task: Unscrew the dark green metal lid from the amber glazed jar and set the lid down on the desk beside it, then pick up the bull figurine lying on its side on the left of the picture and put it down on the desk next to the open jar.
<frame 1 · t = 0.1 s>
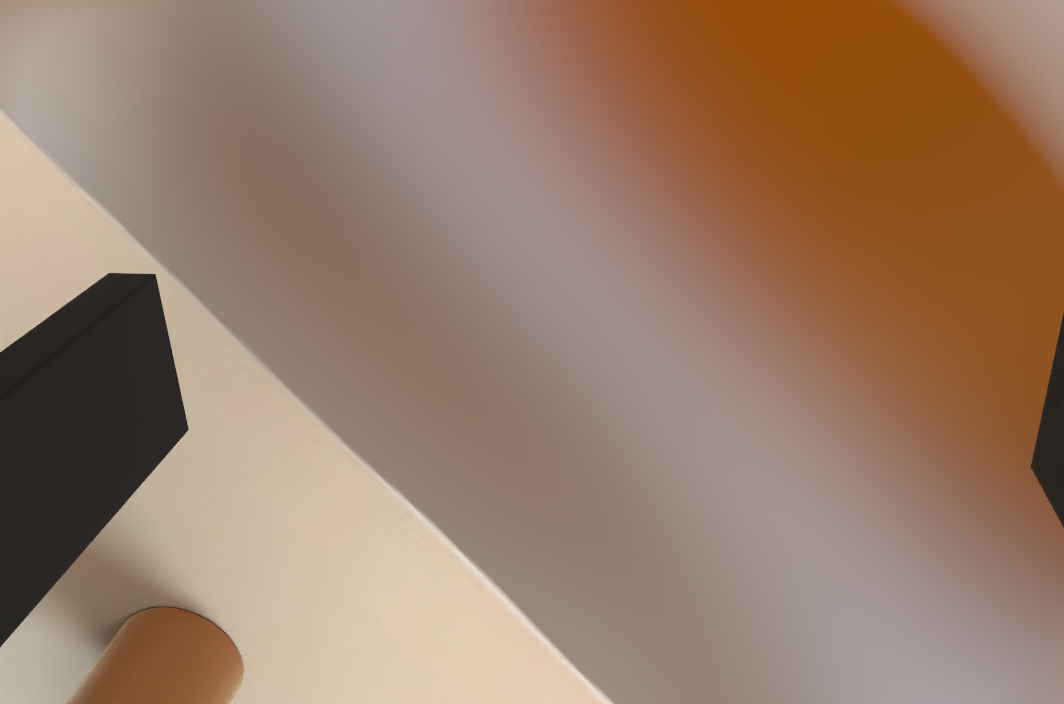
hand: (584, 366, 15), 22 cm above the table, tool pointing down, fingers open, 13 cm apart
jar: (180, 658, 50), on the table
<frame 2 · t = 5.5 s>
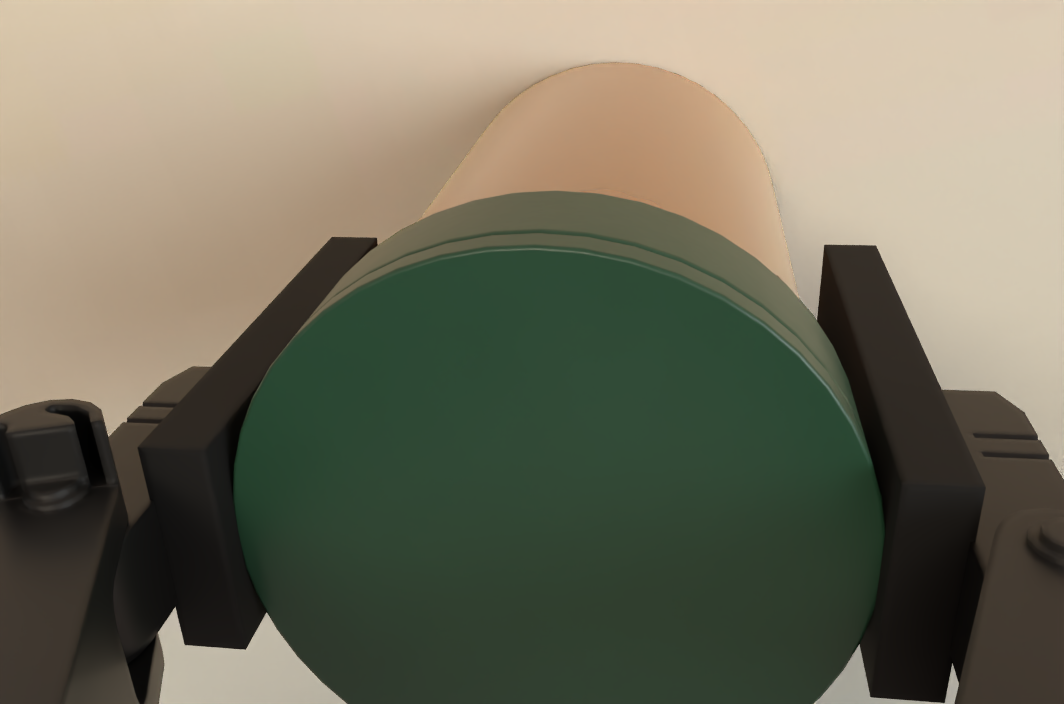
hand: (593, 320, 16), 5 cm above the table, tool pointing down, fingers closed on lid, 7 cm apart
jar: (614, 221, 21), on the table
lid: (549, 531, 11), point 11 cm above the table, screwed on, not yet turned, touching gripper
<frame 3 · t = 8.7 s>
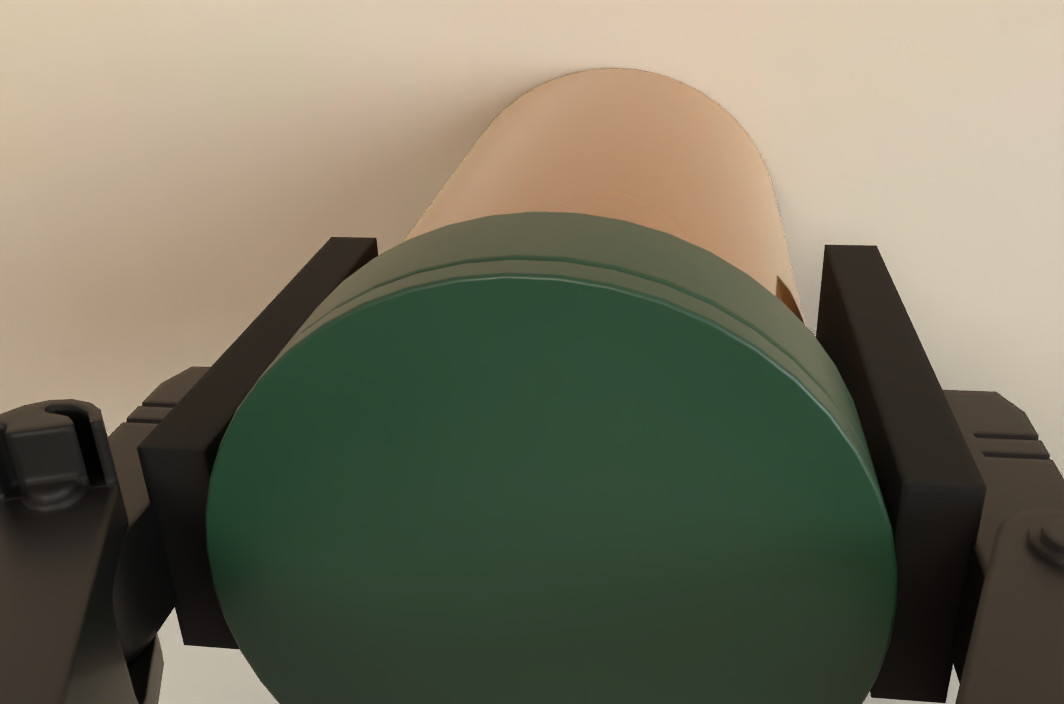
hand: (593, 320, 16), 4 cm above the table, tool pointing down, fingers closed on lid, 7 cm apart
jar: (612, 231, 20), on the table
lid: (541, 572, 11), point 11 cm above the table, turned 108° so far, risen 0.1 cm, still on its thread, touching gripper
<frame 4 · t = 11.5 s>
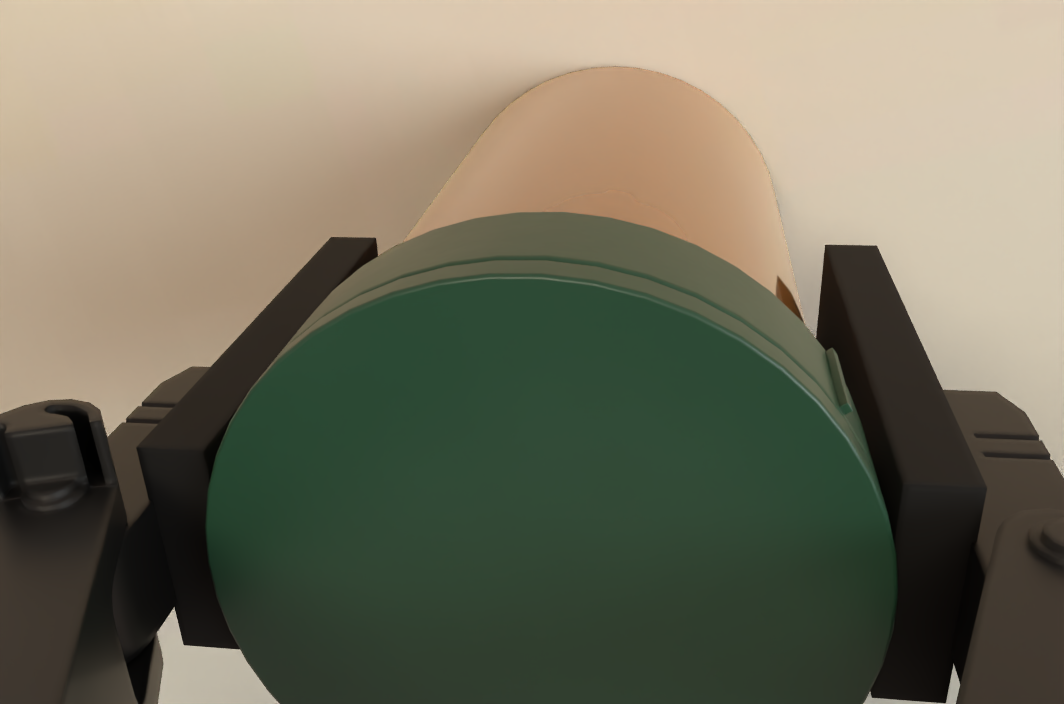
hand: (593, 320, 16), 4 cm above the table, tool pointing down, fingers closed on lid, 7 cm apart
jar: (613, 228, 20), on the table
lid: (541, 572, 11), point 11 cm above the table, turned 215° so far, risen 0.3 cm, still on its thread, touching gripper
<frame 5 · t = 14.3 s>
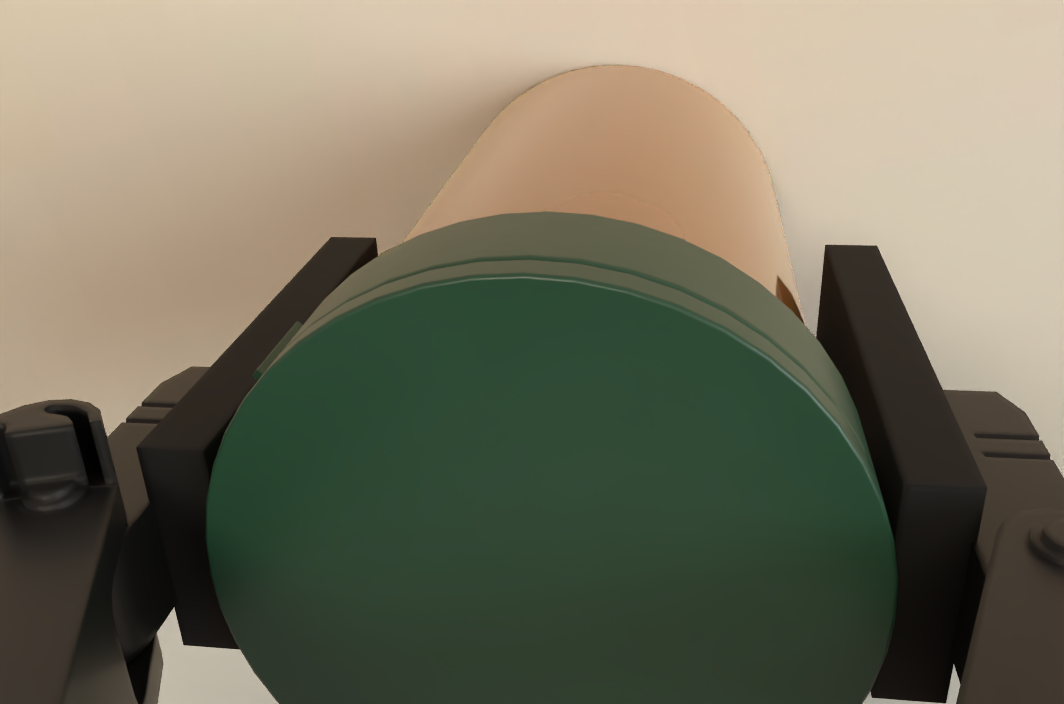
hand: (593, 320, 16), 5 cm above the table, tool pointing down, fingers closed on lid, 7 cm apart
jar: (614, 226, 21), on the table
lid: (541, 572, 11), point 11 cm above the table, turned 323° so far, risen 0.4 cm, still on its thread, touching gripper
when the fingers open (0 cm above the table, at t = 21.4 s): lid drops 5 cm, point 1 cm above the table.
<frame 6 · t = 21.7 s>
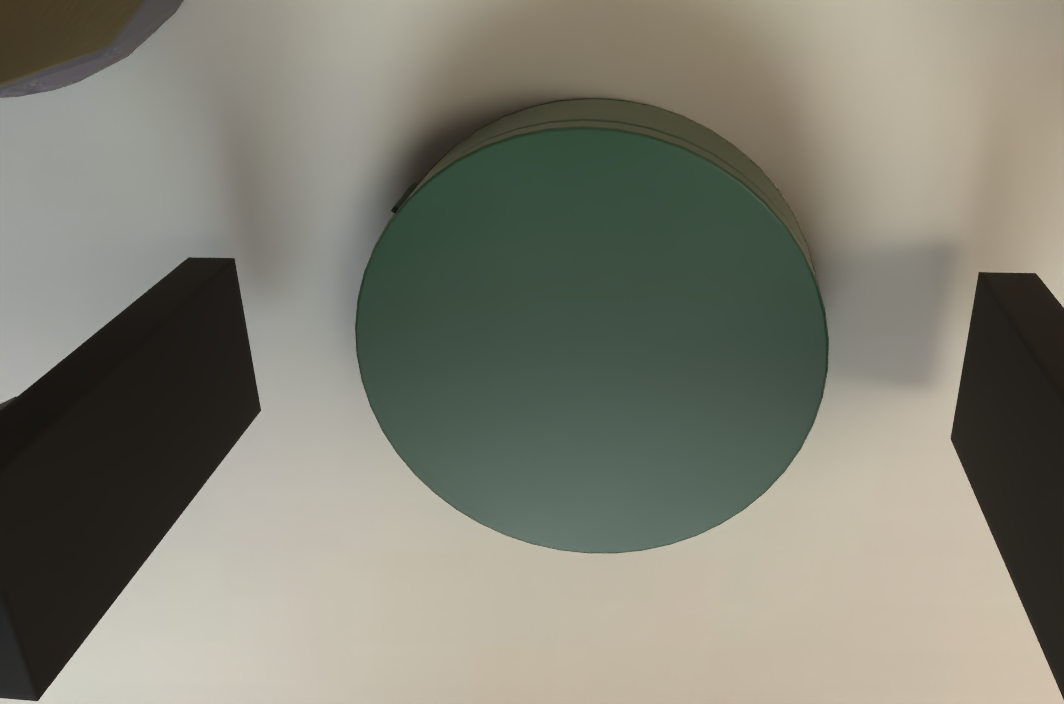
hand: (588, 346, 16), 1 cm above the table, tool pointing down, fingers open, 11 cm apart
lid: (586, 350, 16), point 1 cm above the table, off its thread
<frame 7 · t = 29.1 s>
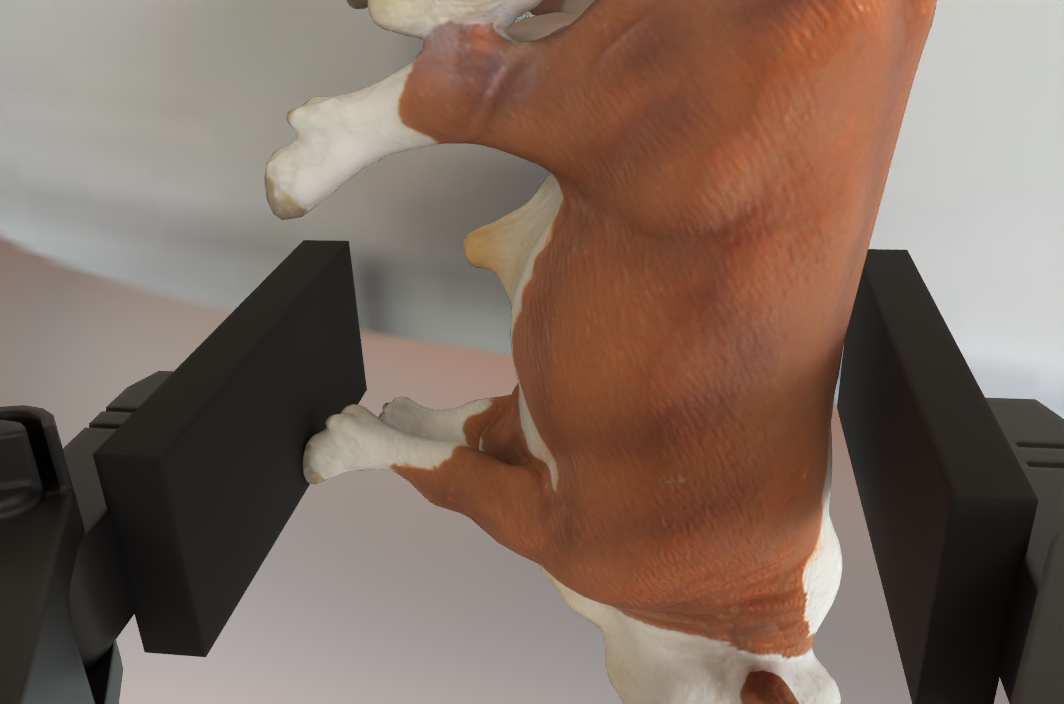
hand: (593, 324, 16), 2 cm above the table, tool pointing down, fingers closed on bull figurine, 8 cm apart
bull figurine: (321, 327, 15), point 4 cm above the table, touching gripper
when the fingers open (0 cm above the table, at t = 35.8 s): bull figurine stays where it is, point 2 cm above the table.
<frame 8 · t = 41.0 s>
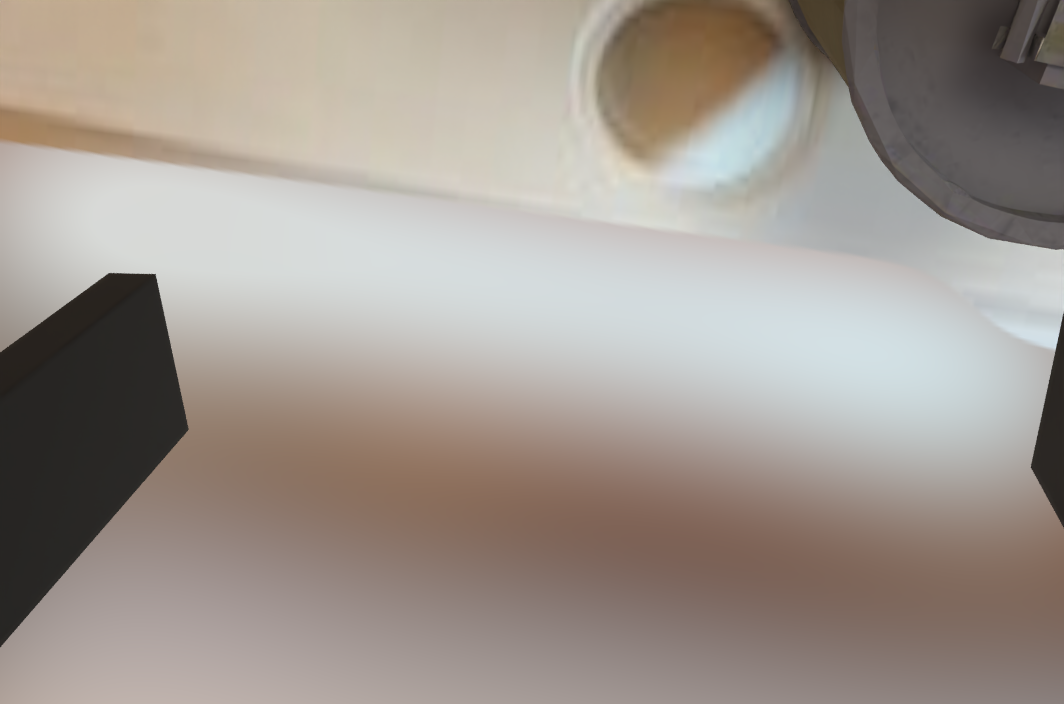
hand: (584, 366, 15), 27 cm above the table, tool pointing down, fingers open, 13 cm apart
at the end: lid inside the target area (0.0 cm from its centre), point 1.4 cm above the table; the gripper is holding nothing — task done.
